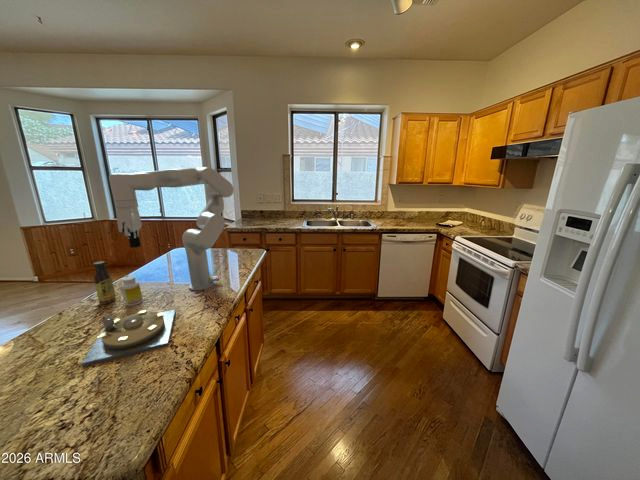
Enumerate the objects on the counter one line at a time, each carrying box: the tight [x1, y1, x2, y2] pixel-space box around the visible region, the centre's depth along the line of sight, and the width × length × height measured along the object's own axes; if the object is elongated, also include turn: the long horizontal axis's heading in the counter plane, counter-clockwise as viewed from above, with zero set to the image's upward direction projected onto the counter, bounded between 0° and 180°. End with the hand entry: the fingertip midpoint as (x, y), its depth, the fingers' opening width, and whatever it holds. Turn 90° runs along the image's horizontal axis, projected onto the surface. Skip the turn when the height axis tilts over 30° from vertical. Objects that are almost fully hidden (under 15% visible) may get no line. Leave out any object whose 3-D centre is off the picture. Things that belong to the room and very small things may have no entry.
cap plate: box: [80, 309, 176, 368], centre depth 95 cm, size 24×24×2 cm
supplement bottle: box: [121, 275, 144, 307], centre depth 117 cm, size 7×7×13 cm
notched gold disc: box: [99, 309, 165, 349], centre depth 94 cm, size 19×19×7 cm
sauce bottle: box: [93, 260, 116, 305], centre depth 118 cm, size 7×6×20 cm
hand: (135, 246), depth 108 cm, fingers closed
